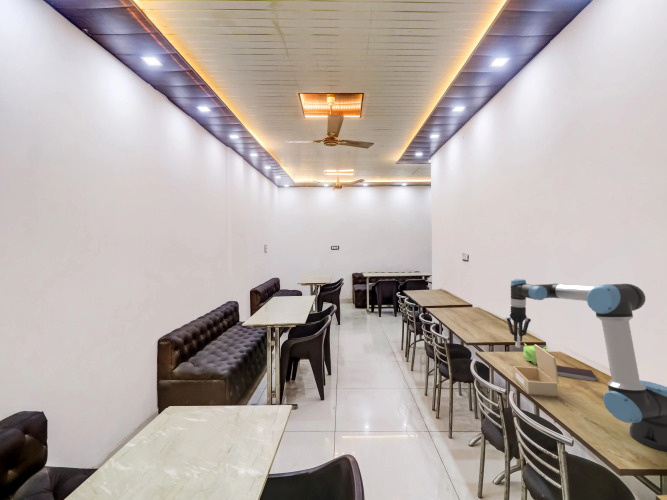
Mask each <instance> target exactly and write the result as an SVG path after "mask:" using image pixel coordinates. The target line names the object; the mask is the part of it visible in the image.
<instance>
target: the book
mask: <svg viewBox="0 0 667 500" xmlns="http://www.w3.org/2000/svg"><path fill="white" fill-rule="evenodd" d="M556 367H557V373H558V377H559V376H560V377H565V378H572V379H580V380H585V381H586V380H587V381H592V382H597V380H596V378H597V377H596V375H595V373H594V371H592V370H591V369H584V368H577V367H570V366H563V365H562V366H561V365H557V364H556Z"/></svg>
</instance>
